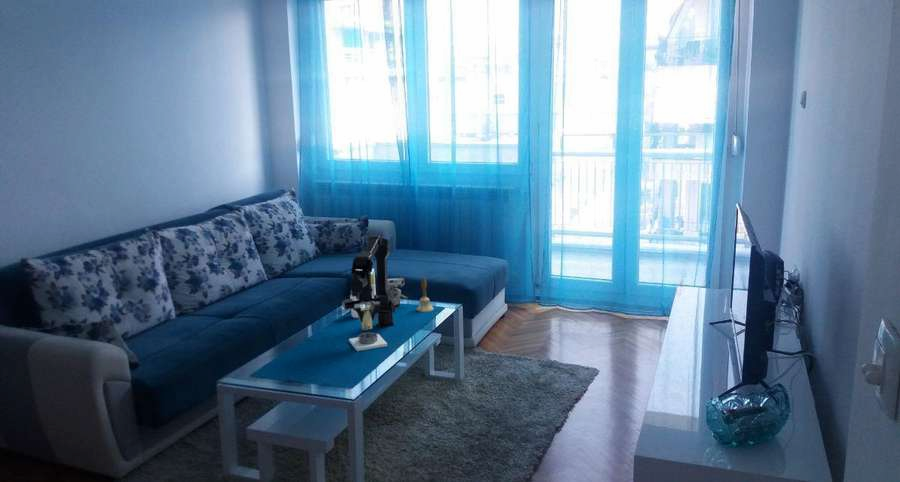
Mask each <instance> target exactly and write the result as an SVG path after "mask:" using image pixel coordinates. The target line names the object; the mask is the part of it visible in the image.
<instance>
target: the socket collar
mask: <svg viewBox="0 0 900 482" xmlns="http://www.w3.org/2000/svg"><path fill="white" fill-rule="evenodd" d="M376 334H377V333H376V332H369V331H368V332H362V333H360V334H359V335H357V337H358V342H359V343H360V344H373V343H375V342H377V341H378V340H377V335H376Z"/></svg>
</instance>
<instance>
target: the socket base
mask: <svg viewBox="0 0 900 482" xmlns="http://www.w3.org/2000/svg"><path fill="white" fill-rule="evenodd" d="M376 335H377V340H378V341H377V342H375V343H373V344H360V343H359V342H358V336H357V337H352V338H351V337H350V338H349V339H348V342H349V344H351V346H352V347H353V348H354V349H355V350H356V351H357V352H361V351H367V350H371V349H373V350H374V349H378V348H385V347H388V342H387V341H385V339H384V338H383V337H382V336H381V335H380V334H379V333H376Z"/></svg>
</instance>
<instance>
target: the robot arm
mask: <svg viewBox="0 0 900 482" xmlns="http://www.w3.org/2000/svg"><path fill="white" fill-rule="evenodd" d="M391 249H392V243H391V241H390V240H389V239H386V238H384V237H382V236H380V235H371V236H369V238H368V242H367V243H366V245H365V247H364V248H363V250H362V252H359V253H357V254H356V255H355V256H354V258H353V260H352V267H351V273H350V274H351V275H353V277H352V279H351V280H350V282H349V283H348V286H349V289H350V295H351V296H352V297H354V296H356V298H357V299H358V300H357V301H353V300H352V299H351V298H346V299H343V300H341V304H342V307H343V309H344V310H346V311H347V310H351V309H353V310H355V311H356V312H357V315H358V317H359V318H358V319H359V321H360V323H362V314H361V308H360V307H359V305H361V304H368V303H371V308H370V309H371V312H372V322H373V321H374V320H375V318H376V324H377V325H378V326H379V327H380V328H384V327H391V326H395V324H394V321H393V319H394V318H393V314H394V313H396V305H394V303H393V301H392V297H391V294H390V293H389V291H388V288H389V287H388V284H387V279H388V262H387V261H388V256H389V255H390V254H391ZM374 258H375V261H376V286H377V287H376V288H377V289H376V290H377V292H376V295H375V296H374V298H372V286H371V272H372V269H374V263H375V262H374ZM376 313H377V314H376Z"/></svg>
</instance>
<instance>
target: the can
mask: <svg viewBox="0 0 900 482" xmlns="http://www.w3.org/2000/svg"><path fill="white" fill-rule="evenodd" d="M349 297H350V298H349V299H352V300H353V301H357V300H358V299H357V298H356V296H354V297H352V296H351V294H350V296H349ZM359 307H360V308H361V310H362V309H365V304H361V305H359ZM350 311H351V312H350V313H351V317H352V318H353V319H359V317H358V315H357V312H356V311H355V310H353V309H350Z"/></svg>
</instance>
